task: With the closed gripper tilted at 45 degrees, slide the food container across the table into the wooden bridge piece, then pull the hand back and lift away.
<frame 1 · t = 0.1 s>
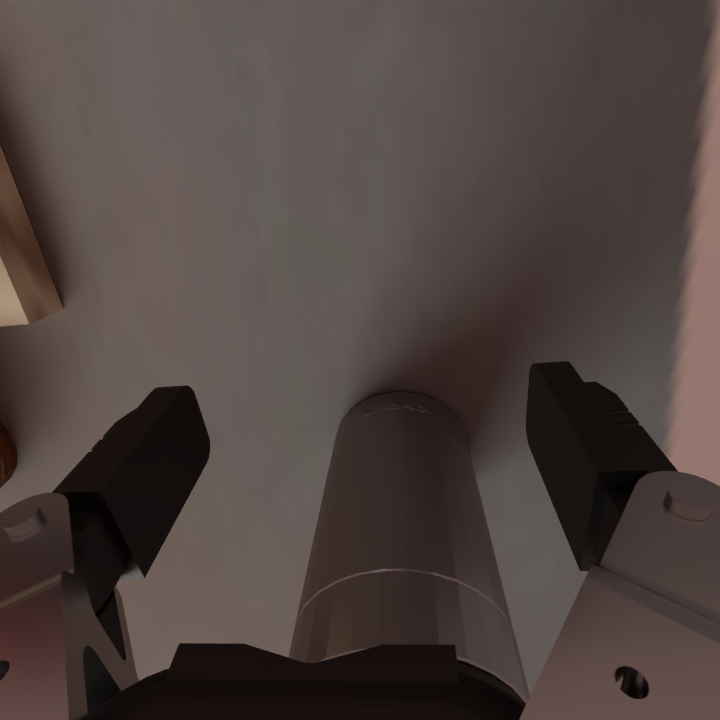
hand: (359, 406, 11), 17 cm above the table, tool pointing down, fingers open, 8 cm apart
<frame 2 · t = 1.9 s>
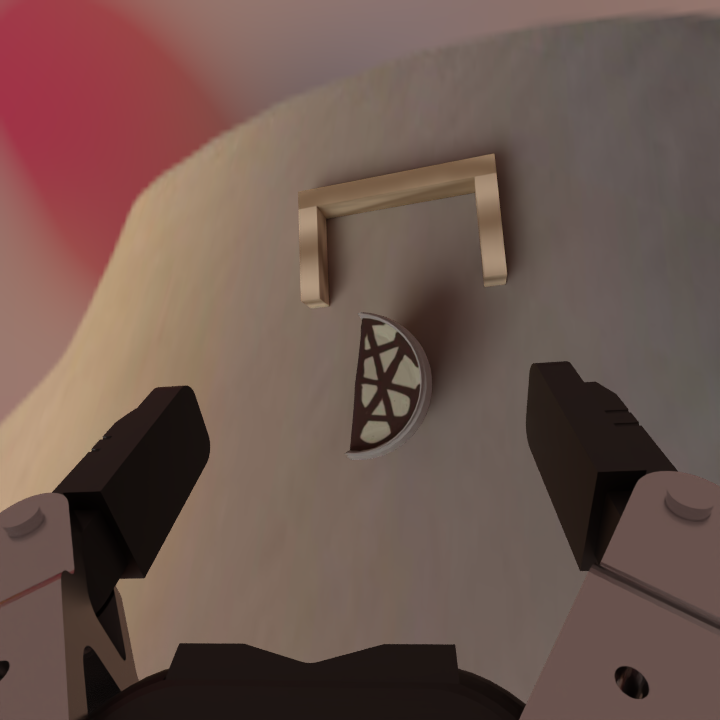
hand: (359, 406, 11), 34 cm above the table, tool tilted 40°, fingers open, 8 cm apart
wooden bridge piece: (400, 250, 47), on the table
food container: (410, 394, 45), on the table
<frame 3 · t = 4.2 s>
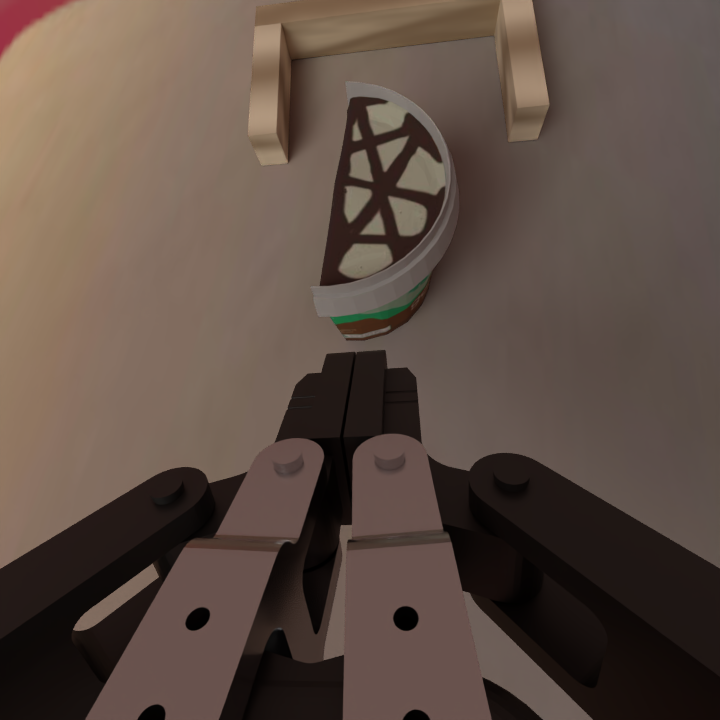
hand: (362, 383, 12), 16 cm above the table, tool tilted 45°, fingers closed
wooden bridge piece: (392, 98, 34), on the table
food container: (401, 279, 30), on the table
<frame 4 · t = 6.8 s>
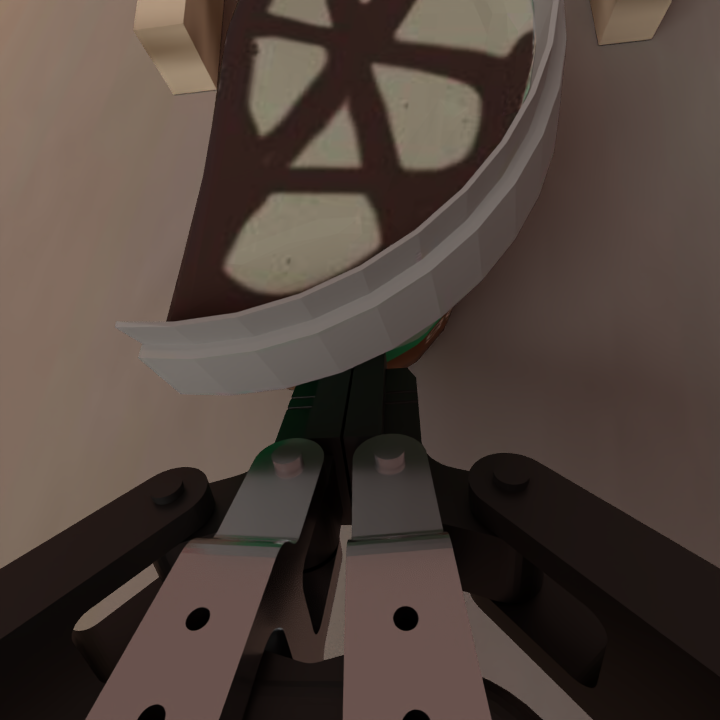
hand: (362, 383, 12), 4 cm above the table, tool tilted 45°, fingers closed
food container: (406, 281, 17), on the table, touching gripper
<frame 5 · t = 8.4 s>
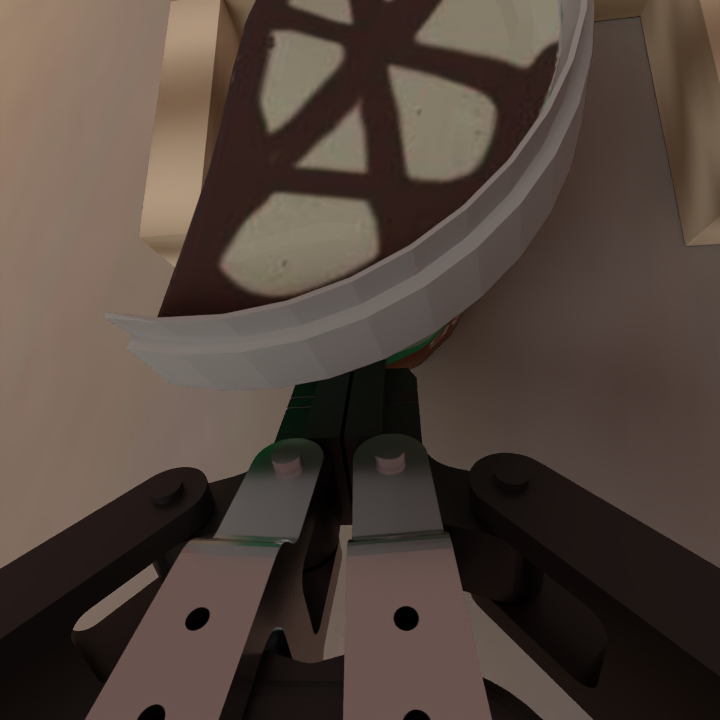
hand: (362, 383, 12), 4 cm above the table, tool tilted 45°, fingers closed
wooden bridge piece: (439, 143, 18), on the table
food container: (418, 282, 17), on the table, touching gripper
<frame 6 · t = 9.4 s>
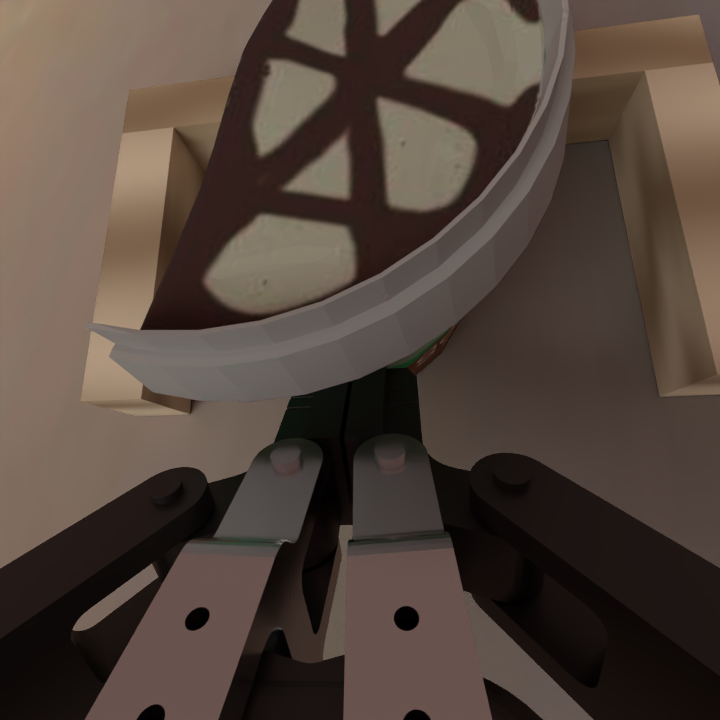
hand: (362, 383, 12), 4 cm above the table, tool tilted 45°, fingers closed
wooden bridge piece: (403, 273, 17), on the table
food container: (412, 299, 17), on the table, touching gripper
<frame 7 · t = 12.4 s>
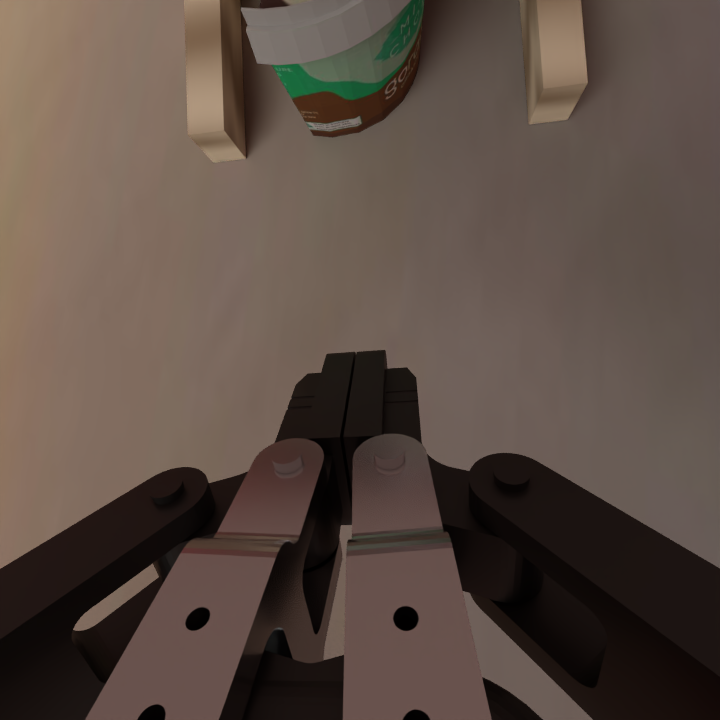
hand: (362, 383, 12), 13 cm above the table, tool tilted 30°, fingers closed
wooden bridge piece: (376, 57, 26), on the table
food container: (384, 68, 26), on the table
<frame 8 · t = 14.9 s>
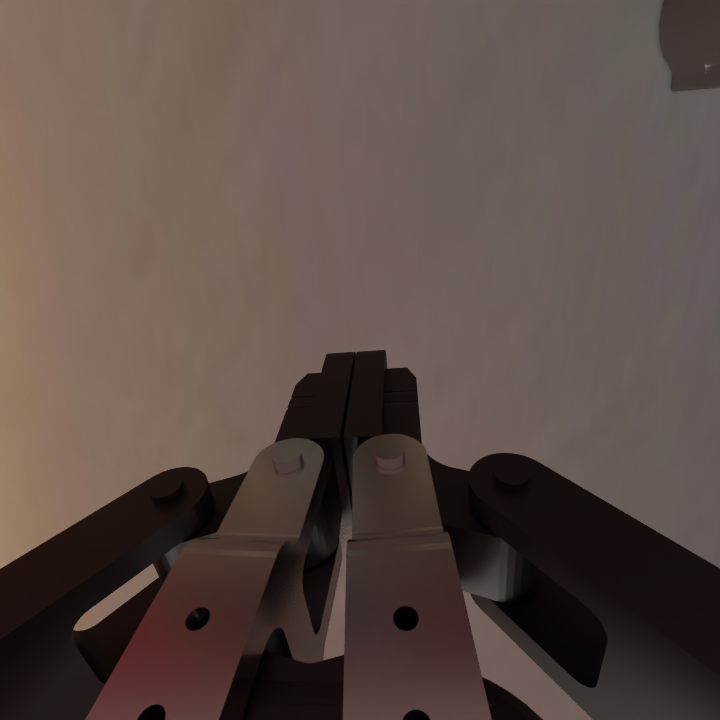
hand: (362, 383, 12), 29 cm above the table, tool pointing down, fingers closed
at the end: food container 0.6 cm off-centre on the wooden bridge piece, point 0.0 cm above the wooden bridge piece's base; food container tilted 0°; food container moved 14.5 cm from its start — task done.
